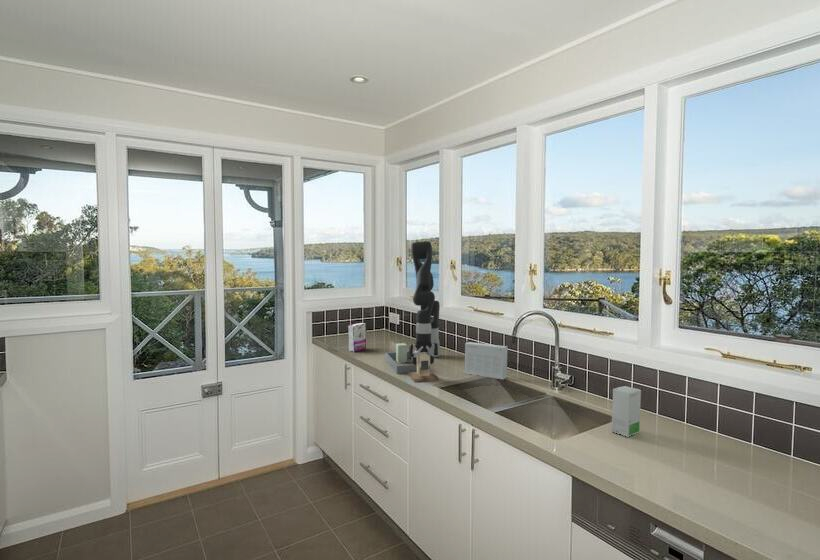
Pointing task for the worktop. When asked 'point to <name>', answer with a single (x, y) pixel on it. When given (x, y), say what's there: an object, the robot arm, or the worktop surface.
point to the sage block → (401, 353)
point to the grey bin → (400, 368)
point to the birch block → (423, 364)
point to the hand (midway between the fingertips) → (423, 364)
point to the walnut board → (423, 377)
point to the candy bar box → (357, 337)
